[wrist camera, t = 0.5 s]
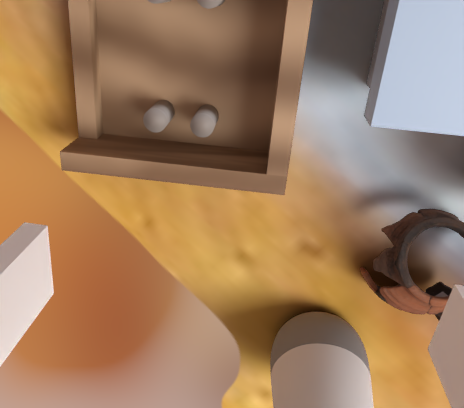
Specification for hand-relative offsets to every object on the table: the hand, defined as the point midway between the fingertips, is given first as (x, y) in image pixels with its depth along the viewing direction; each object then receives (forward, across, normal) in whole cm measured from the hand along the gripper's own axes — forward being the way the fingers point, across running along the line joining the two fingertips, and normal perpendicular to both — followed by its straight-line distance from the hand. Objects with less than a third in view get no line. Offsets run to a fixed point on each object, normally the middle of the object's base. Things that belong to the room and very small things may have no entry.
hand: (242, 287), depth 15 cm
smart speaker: (+25, +9, -23) cm, 35 cm away
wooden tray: (+24, -6, +3) cm, 25 cm away
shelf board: (+18, +10, +8) cm, 22 cm away
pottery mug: (+25, +16, -12) cm, 32 cm away
